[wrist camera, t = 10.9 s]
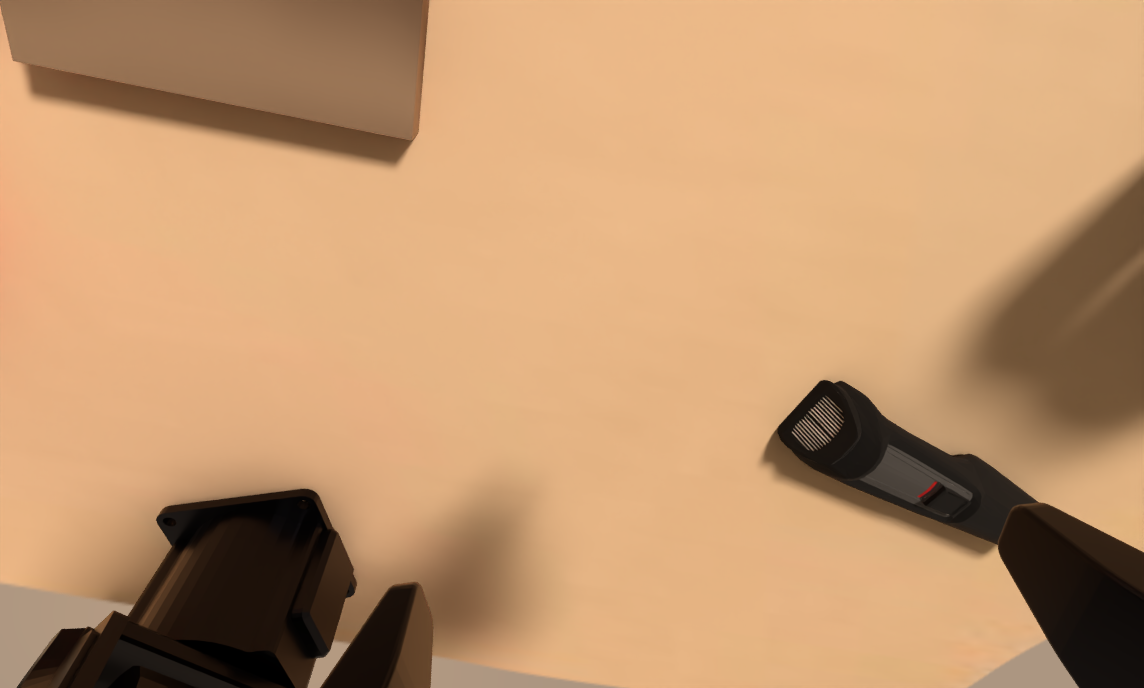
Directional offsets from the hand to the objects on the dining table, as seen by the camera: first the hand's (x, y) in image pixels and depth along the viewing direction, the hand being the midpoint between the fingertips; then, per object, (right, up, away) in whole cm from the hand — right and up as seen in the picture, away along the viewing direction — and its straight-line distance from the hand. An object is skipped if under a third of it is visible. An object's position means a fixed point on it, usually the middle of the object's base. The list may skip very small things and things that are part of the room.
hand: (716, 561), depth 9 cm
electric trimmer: (+14, -2, +18) cm, 23 cm away
